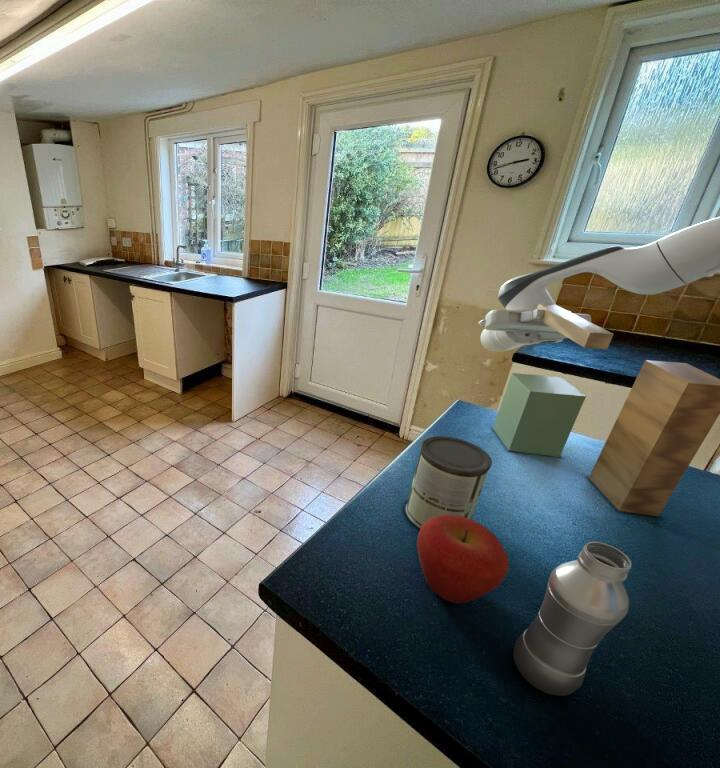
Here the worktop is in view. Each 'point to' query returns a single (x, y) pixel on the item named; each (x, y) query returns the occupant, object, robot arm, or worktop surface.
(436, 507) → the coffee can
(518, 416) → the low box
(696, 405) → the tall stand
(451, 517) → the apple
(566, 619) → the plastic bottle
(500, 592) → the worktop surface
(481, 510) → the worktop surface
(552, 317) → the slim box
